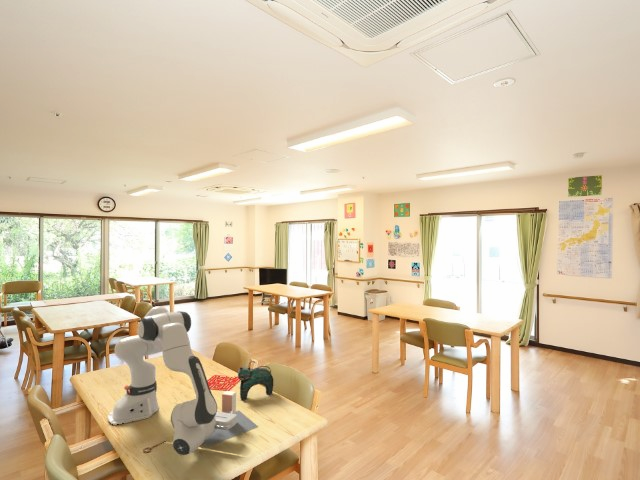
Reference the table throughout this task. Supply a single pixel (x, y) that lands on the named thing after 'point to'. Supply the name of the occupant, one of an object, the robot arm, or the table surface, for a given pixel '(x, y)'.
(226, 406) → the block
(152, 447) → the key
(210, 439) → the mat
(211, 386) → the maze puzzle
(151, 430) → the table surface
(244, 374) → the ceramic cat
